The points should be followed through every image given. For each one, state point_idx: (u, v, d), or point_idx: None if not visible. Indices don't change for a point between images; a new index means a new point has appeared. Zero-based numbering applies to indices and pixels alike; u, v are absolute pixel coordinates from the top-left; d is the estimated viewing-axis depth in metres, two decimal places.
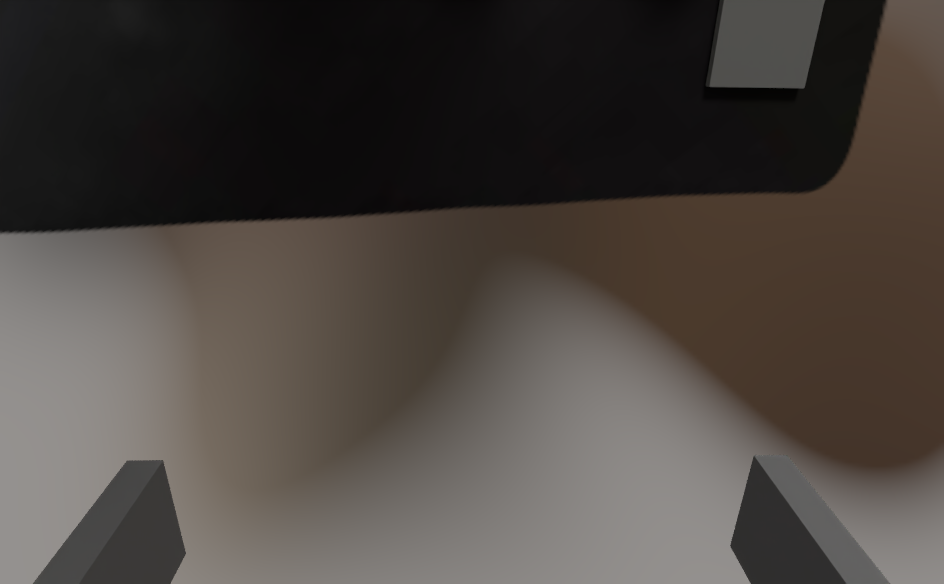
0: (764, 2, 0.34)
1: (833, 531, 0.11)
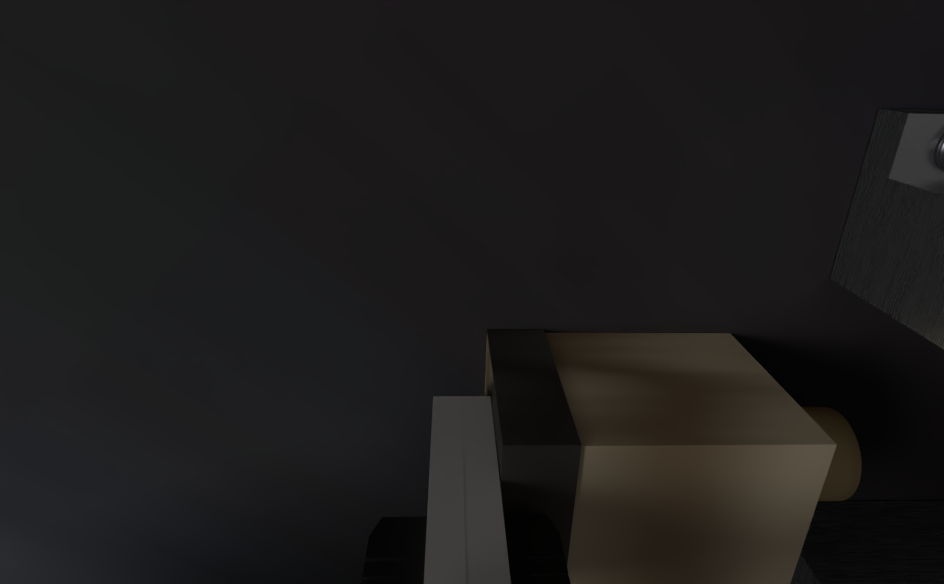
0: None
1: (483, 451, 0.13)
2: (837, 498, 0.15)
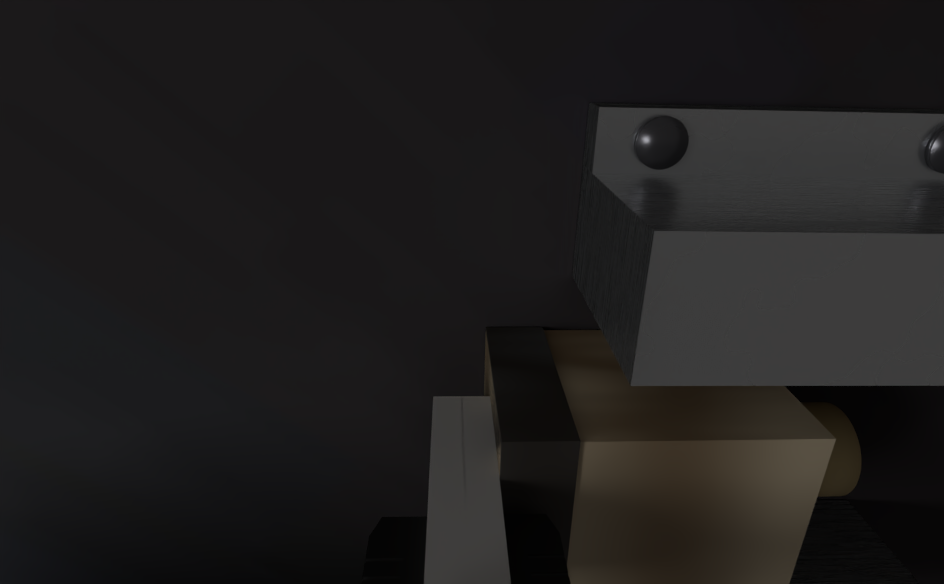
0: None
1: (483, 451, 0.13)
2: (838, 493, 0.15)
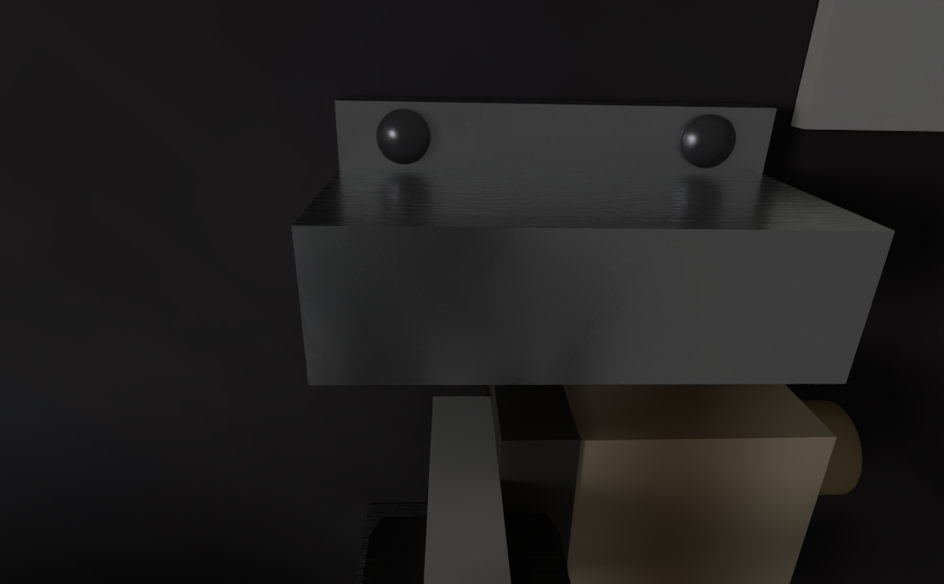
0: None
1: (483, 451, 0.13)
2: (839, 492, 0.15)
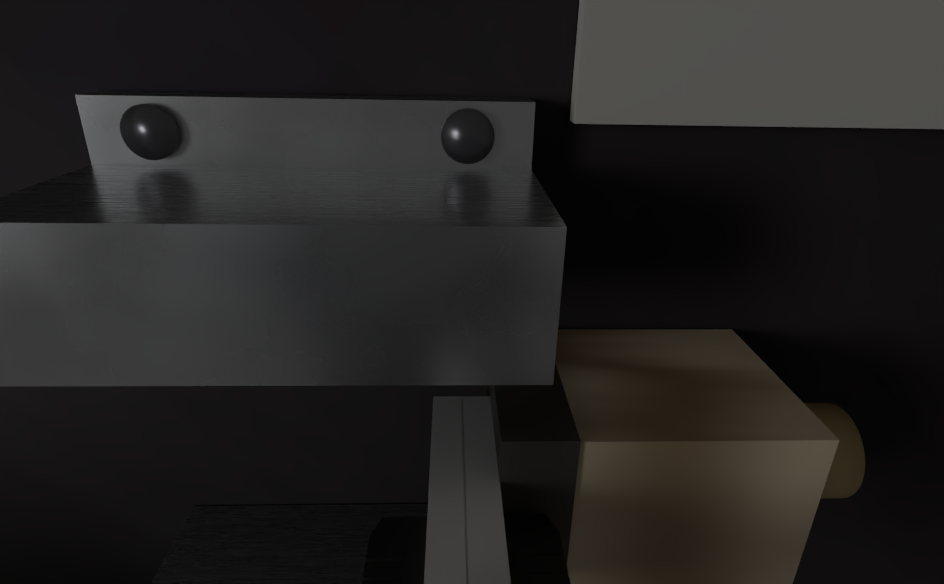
0: (823, 13, 0.13)
1: (483, 451, 0.13)
2: (841, 495, 0.15)
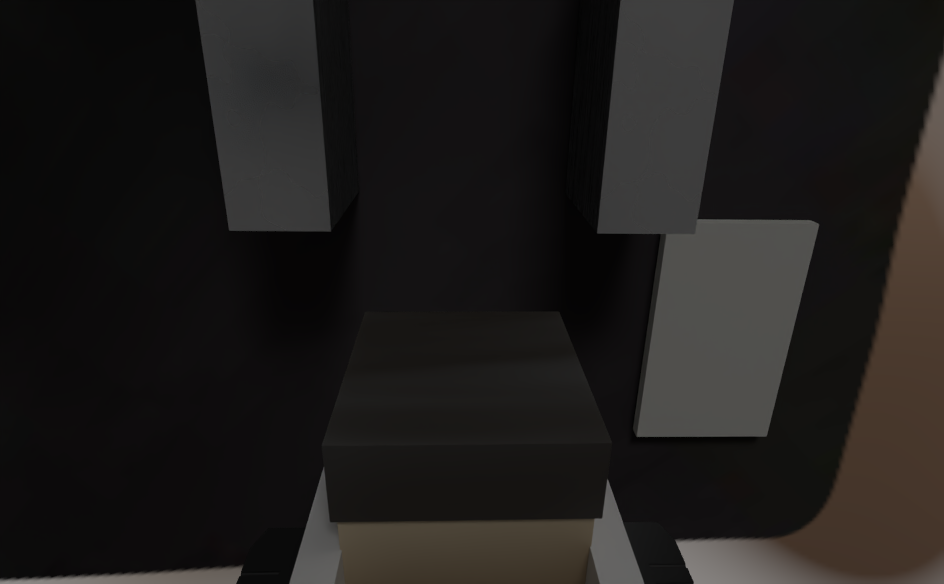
0: (706, 344, 0.25)
1: None
2: None
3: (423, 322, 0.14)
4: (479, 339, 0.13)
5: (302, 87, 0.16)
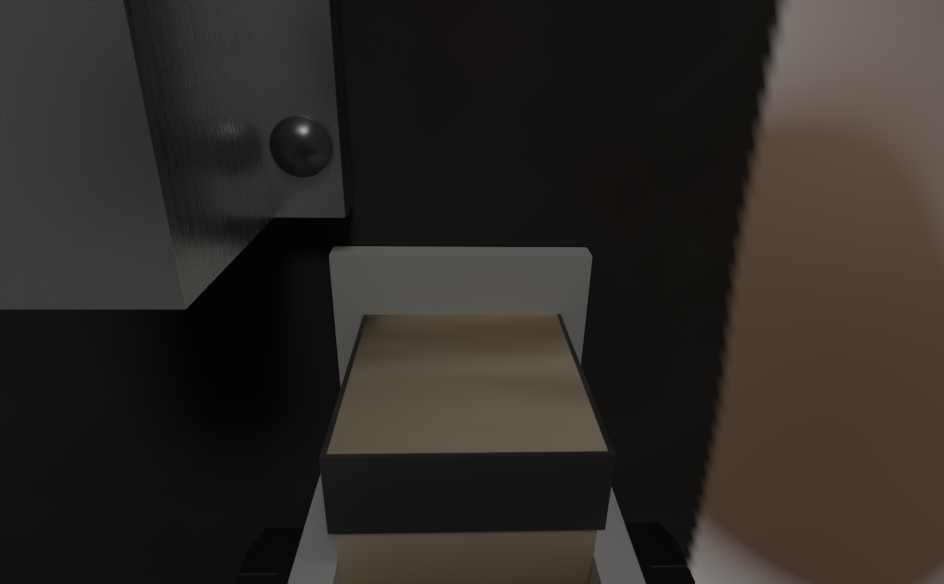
0: None
1: None
2: None
3: (422, 326, 0.13)
4: (479, 343, 0.13)
5: None
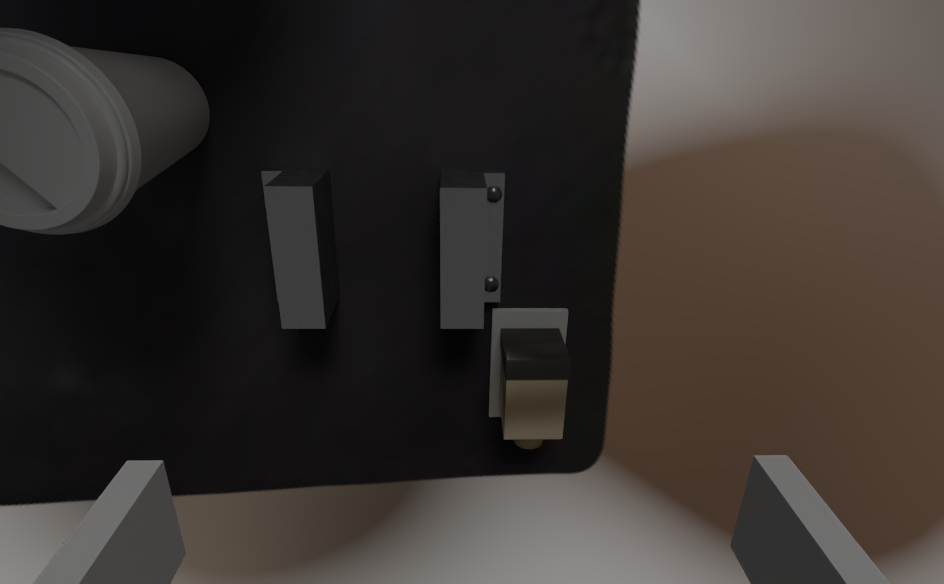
0: None
1: (833, 531, 0.11)
2: (522, 445, 0.47)
3: (519, 331, 0.46)
4: (536, 336, 0.45)
5: (313, 274, 0.39)
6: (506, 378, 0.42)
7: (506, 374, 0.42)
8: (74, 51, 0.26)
